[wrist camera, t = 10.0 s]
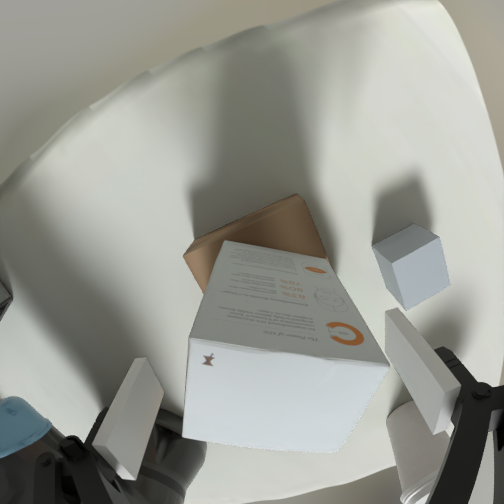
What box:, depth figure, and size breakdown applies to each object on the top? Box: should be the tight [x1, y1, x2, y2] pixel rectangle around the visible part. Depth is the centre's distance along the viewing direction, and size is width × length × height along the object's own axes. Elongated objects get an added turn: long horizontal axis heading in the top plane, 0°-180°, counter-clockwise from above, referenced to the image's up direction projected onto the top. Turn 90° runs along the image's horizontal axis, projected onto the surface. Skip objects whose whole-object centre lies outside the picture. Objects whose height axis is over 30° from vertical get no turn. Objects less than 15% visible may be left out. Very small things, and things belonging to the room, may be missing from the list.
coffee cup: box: [386, 400, 450, 504], centre depth 28 cm, size 10×10×15 cm
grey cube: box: [372, 224, 450, 311], centre depth 25 cm, size 5×5×5 cm
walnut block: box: [183, 194, 331, 294], centre depth 26 cm, size 10×10×5 cm
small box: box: [182, 240, 390, 452], centre depth 18 cm, size 8×6×13 cm
